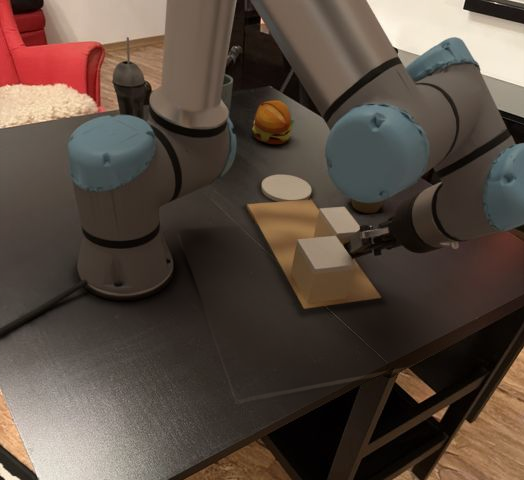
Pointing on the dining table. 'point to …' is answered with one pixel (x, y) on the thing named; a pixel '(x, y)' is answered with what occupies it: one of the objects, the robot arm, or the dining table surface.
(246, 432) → the dining table surface
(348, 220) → the cake slice
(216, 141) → the robot arm
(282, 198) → the plate
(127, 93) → the beverage cup
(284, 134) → the cheeseburger
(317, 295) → the cake
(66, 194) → the dining table surface
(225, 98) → the drinking glass
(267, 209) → the serving board
